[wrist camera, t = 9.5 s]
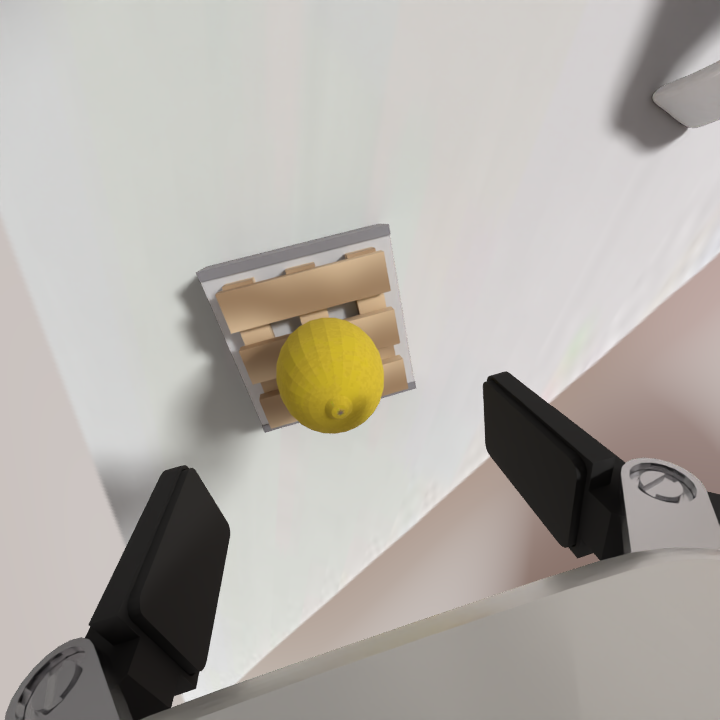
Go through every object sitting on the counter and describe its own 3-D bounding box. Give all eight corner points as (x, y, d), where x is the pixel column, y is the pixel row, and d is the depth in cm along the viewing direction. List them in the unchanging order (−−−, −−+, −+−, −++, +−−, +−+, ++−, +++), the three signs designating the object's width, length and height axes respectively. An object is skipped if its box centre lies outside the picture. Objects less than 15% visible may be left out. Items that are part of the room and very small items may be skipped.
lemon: (318, 398, 22) (330, 485, 15) (260, 340, 20) (241, 410, 13) (382, 349, 22) (427, 414, 15) (330, 283, 19) (352, 322, 12)
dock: (206, 266, 22) (195, 272, 19) (378, 223, 23) (388, 224, 20) (267, 413, 27) (264, 432, 25) (405, 373, 28) (416, 388, 25)
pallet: (220, 285, 20) (213, 291, 18) (376, 245, 21) (383, 247, 19) (273, 416, 24) (272, 431, 23) (401, 379, 25) (408, 390, 23)
